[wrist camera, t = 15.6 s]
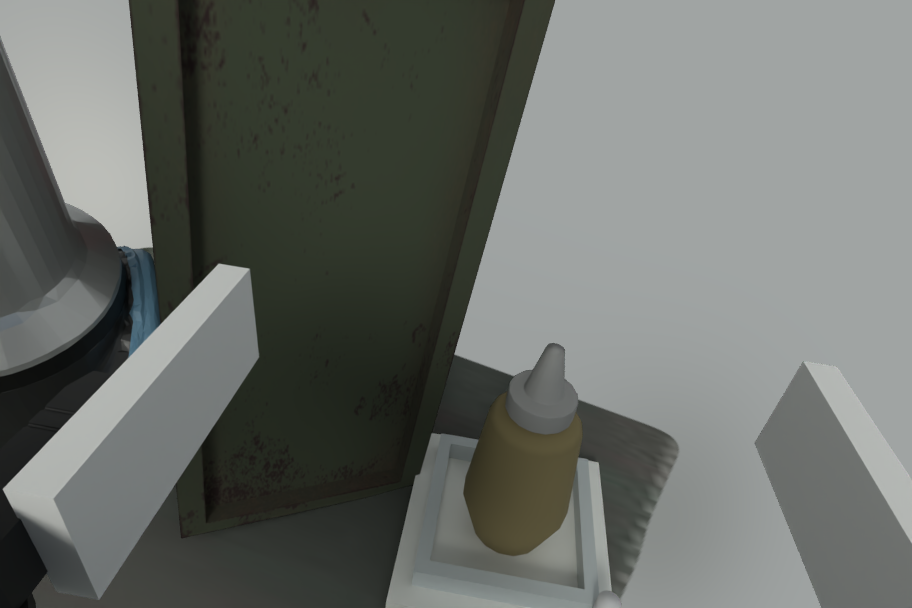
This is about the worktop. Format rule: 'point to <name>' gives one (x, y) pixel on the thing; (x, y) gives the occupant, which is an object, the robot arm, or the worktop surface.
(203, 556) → the worktop surface
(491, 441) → the squeeze bottle
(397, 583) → the holder plate
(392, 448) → the first aid box
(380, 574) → the worktop surface
